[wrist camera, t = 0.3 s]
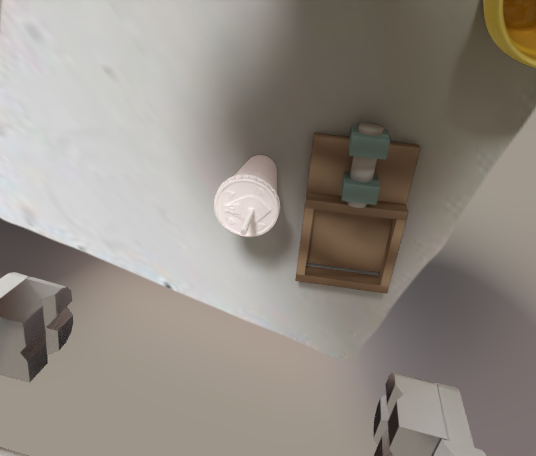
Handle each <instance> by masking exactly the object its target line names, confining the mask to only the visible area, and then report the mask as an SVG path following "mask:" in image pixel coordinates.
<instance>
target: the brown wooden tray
mask: <svg viewBox="0 0 536 456" xmlns="http://www.w3.org/2000/svg"><path fill="white" fill-rule="evenodd" d="M419 151H420V147H419V145H415V144H406V143H397V142H390V138H389V134H388V131H387V130H383V127H382V126H379V125H376V124H372V123H362V124H359V127H355V126H352V127H351V133H350V137H343V136H335V135H326V134H317V133H314V140H313V148H312V156H311V164H310V171H309V179H308V187H307V195H306V202H305V210H304V218H303V225H302V233H301V241H300V249H299V257H298V264H297V272H296V280H295V281H301V282H308V283H315V284H322V285H329V286H337V287H344V288H351V289H358V290H365V291H373V292H380V293H387V292H388V288H389V284H390V281H391V277H392V273H393V269H394V265H395V262H396V258H397V254H398V250H399V246H400V243H401V239H402V235H403V231H404V227H405V224H406V220H407V216H408V209H407V206H406V202H407V198H408V194H409V190H410V186H411V182H412V179H413V175H414V171H415V167H416V163H417V159H418V155H419ZM306 263H314V264H321V265H328V266H336V267H343V268H351V269H358V270H365V271H373V272H380V273H379V276H377V275H370V274H362V273H355V272H348V271H340V270H333V269H325V268H318V267H311V266H306Z"/></svg>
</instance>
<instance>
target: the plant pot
mask: <svg viewBox="0 0 536 456" xmlns="http://www.w3.org/2000/svg"><path fill="white" fill-rule="evenodd" d="M483 5H484V17H485V22H486V26H487V29H488V31H489V34H490V36H491V37H492V39H493V41H494V42H495V44H496V45H497V46H498V47H499V48H500V49H501V50H502V51H503V52H505V53H506V54H507V55H509V56H510V57H512V58H513V59H515V60H517V61H519V62H521V63H523V64H526V65H528V66H530V67H534V68H536V0H483Z"/></svg>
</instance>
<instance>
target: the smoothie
mask: <svg viewBox="0 0 536 456" xmlns="http://www.w3.org/2000/svg"><path fill="white" fill-rule="evenodd" d="M214 211H215V214H216V217H217V219H218V220H219V222H220V223H221V224H222V226H223V227H225V228H226V229H227V230H228V231H230V232H232V233H234V234H236V235H239V236H243V237H256V236H260V235H262V234H264V233H266V232H268V231H269V230H270V229H271V228H272V227H273V226H274V225H275V223H276V221H277V218H278V216H279V213H280V200H279V197H278V195H277V168H276V165H275V163H274V162H273V160H272V159H270V158H269V157H267V156H264V155H256V156H253V157H251V158H250V159H249V160H248V161H247V162H246V163H245V164H244V165H243V166H242V167H241V168H240V170H239V171H238V172H237V173H236V174H235V175H234V176H233V177H230V178H229V179H227V180H226V181H224V182H223V183H222V184H221V186H220V187H219V188H218V191H217V193H216V196H215V200H214Z"/></svg>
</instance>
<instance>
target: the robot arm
mask: <svg viewBox="0 0 536 456" xmlns="http://www.w3.org/2000/svg"><path fill="white" fill-rule="evenodd" d="M71 302H72V294H71V290H70V289H69V288H68V287H65V286H62V285H58V284H55V283H51V282H48V281H44V280H41V279H37V278H34V277H29V276H26V275H22V274H19V273H15V272H14V273H8V274H7V275H5V276H4V277H2V278H1V279H0V375H3V376H6V377H10V378H14V379H18V380H22V381H26V382H31V381H32V380H33V379H34V377H35V376H36V375H37V374H38V373H39V372H40V371H41V370H42V369H43V368H44V366H45V365H46V364H47V363H48V357H47V356H48V355H49V354H52V353H54V352H57V351H59V350H60V349H61V348H62V347H63V345H64V344H65V343H66V341H67V340H68V338H69V336H70V334H71V331H72V326H73V314H72V313H71V312H70V310H69V309H68V307H67V306H68V305H69V304H70V303H71ZM374 439H375V441H376V442H377V444H378V447H377V449H376V452H375V454H374V456H486V455H485V454H484V452H483V451H482V450H480V449H476V448H474V444H473V440H472V436H471V433H470V429H469V425H468V421H467V418H466V414H465V410H464V406H463V402H462V398H461V395H460V391H459V390H458V389H457V388H455V387H451V386H446V385H442V384H438V383H432V382H429V381H425V380H420V379H417V378H412V377H408V376H405V375H401V374H397V373H393V372H392V373H391V374H390V375H389V377H388V380H387V382H386V395H384V396H382V397H380V400H379V403H378V406H377V409H376V414H375V419H374ZM0 456H28V455H25V454H22V453H19V452H15V451H12V450H9V449H5V448H2V447H0Z"/></svg>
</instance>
